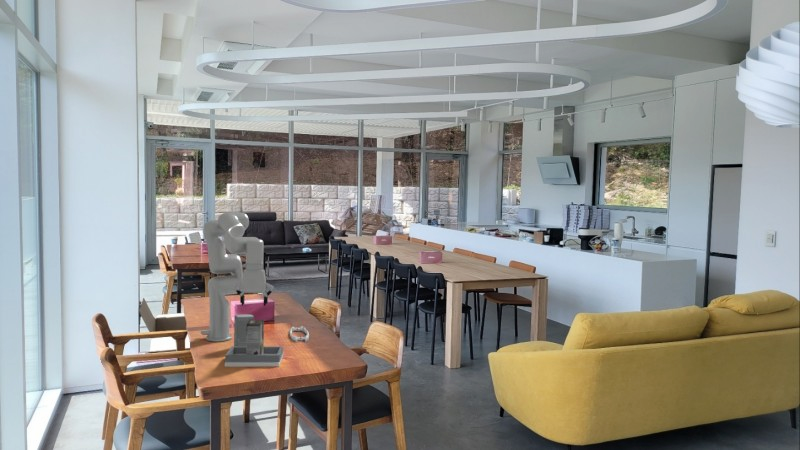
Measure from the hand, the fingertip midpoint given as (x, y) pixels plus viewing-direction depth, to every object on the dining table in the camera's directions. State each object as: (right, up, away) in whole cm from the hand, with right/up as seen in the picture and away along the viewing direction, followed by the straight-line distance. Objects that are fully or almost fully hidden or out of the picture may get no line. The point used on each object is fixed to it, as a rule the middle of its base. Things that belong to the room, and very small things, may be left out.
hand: (253, 304), depth 251 cm
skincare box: (-10, -23, +19) cm, 32 cm away
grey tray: (+1, -25, 0) cm, 25 cm away
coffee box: (0, -24, 0) cm, 24 cm away
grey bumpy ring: (+12, -23, +43) cm, 50 cm away
